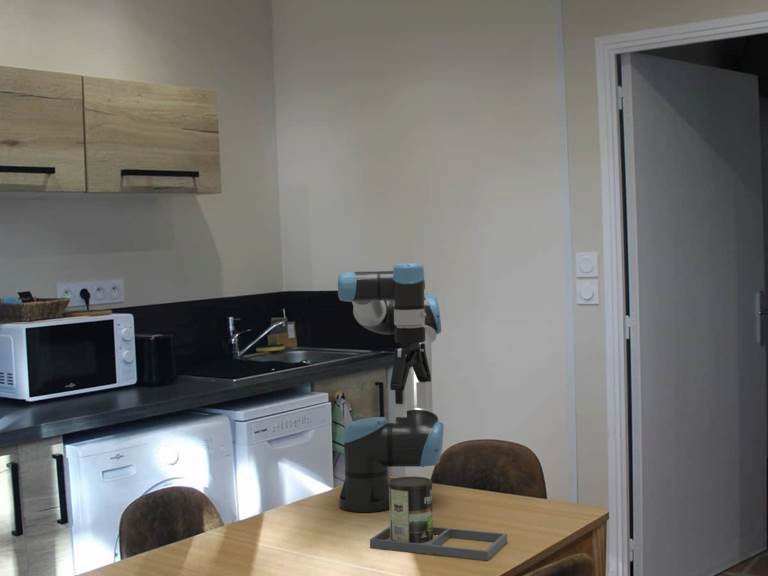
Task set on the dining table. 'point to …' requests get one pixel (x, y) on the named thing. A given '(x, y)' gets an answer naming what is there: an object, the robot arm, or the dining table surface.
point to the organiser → (443, 535)
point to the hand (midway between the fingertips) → (411, 412)
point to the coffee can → (411, 509)
